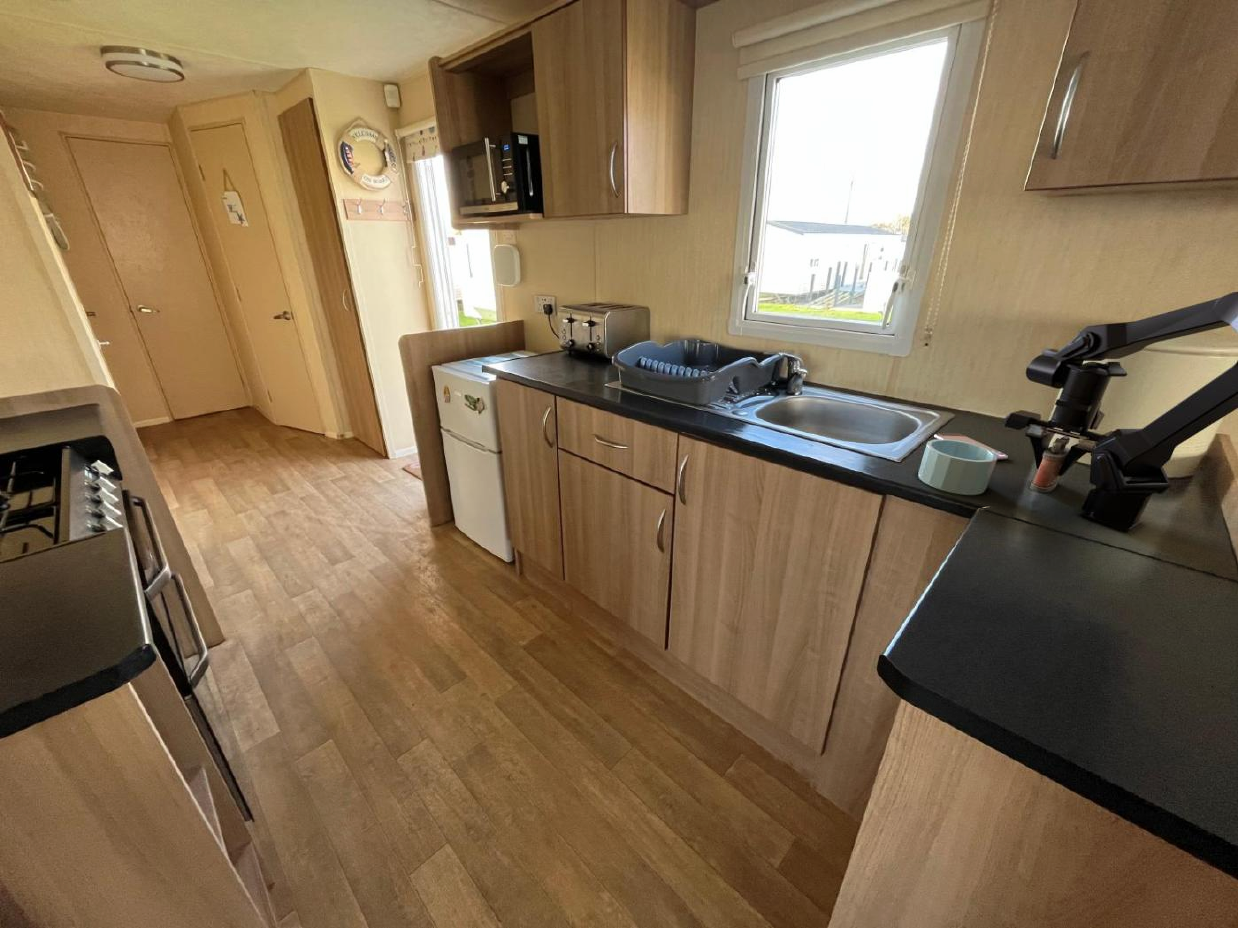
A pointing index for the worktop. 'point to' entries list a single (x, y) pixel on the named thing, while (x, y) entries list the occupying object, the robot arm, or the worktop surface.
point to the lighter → (1051, 466)
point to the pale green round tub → (957, 466)
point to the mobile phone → (966, 439)
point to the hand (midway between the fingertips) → (1049, 472)
